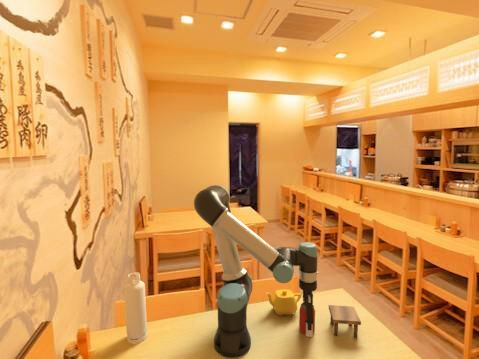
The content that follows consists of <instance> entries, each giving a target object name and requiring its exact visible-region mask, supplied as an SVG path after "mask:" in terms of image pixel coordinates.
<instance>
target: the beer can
mask: <svg viewBox="0 0 479 359" xmlns="http://www.w3.org/2000/svg"><path fill="white" fill-rule="evenodd" d="M298 315H299V318H298V319H299V321H298V324H299V325H298V330H299V332H300V333H301V334H302V335H304V336H306V322H305V321H306V305H305V304H304V303H303V302H302V303H300V307H299V313H298ZM313 322H314V324H313V335H314V334H315V331H316V330H315V329H316V310H315V306H314V304H313Z"/></svg>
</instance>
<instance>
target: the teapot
mask: <svg viewBox="0 0 479 359" xmlns="http://www.w3.org/2000/svg"><path fill="white" fill-rule="evenodd" d="M265 294H266V295H267V297H268V301H269V304H270V305H271V306H272V308H273V310H274V311H275V313H276V314H278V316H280V317H282V316H283V315H284V316H285V315H286V316H287V315H289V316H293V315H294V314H296V312H297V311H298V302H299V301H300V300H301V299H302V294H301V293H299V292H296V293H294V292H293V291H292V290H291V289H277V290H275V292H274V294H273V297H272V294H271V293H270V292H268V291H267V292H265ZM296 297H297V298H296Z"/></svg>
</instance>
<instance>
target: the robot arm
mask: <svg viewBox="0 0 479 359" xmlns="http://www.w3.org/2000/svg"><path fill="white" fill-rule="evenodd" d="M229 202H230V193H229V192H228V190H227V189H226V188H225V187H223V186H221V185H218V184H217V185H214V184H213V185H209V186H207V187H206V188H204V189H202V190H200V191H199V192H197V194H196V195H195V197H194V200H193V206H194V207H193V208H194V210H195V212H196V213H197V215H198V217H200V218H201V219H202V220H203V221H204V222H205V223H207V224H208V225H209V226H210V228H211V231H212V234H213V235H212V236H213V239H214V241H215V246H216V248H217V252H218V256H219V259H220V264H221V267H222V272H223V273H222V275H221V280H222V283H223V285H222V286H221V287H220V288H219V290H218V292H217V297H216V304H217V329H216V331H215V335H214V339H213V347H214V350H215V352H216V353H217V354H218V355H220V356H222V357H225V358H239V357H242V356H244V355H246V354H247V353H248V352H249V350H250V349H251V346H252V338H251V334H250V332H249V330H248V329H249V328H248V326H247V311H248V309H247V308H248V305H249V300H250V298H251V294H252V292H253V280H252V277H251V275H250V274H248V270H247V268H245V267H244V266H243V265H242V261H241V258H240V253H239V250H238V246H239V247H240V248H242V249H243V250H244V251H246V252H247V253H248V254H250V256H252V257H253V258H254V259H256V260H257V261H258V262H259V263H260V264H261V265H263V267H265V268H267V269H268V271H270V272H271V273H272V276H273V279H275V281H276V282H277V283H279V284H288V283H289V282H291V281H292V279H293V277H294V273H295V269H294V266H295V267H298V288H299V289H300V290H302V295H301V298H302V303H304V304H305V305H306V321H305V322H306V335H305V337H310V338H313V337H314V336H313V335H314V334H313V324H314V322H313V305H314V302H313V301H314V293H313V292H315V291H316V290H317V289H318V275H319V271H318V257H319V256H318V246H317V245H316V244H315V243H313V242H310V241H308V242H307V241H305V242H300V243H299V244H298V247H291V246H290V247H288V246H287V247H286V246H272V245H270V244H269V243H268V242H267V241H265V240H264V239H263V238H261V236H260V235H258V234H257V233H256V232H254V231H253V230H252V229H250V227H248V226H247V225H246V224H244V223H243V222H242V221H241V220H239V219H238V218H237V217H236V216H234V215H233V214H232V211H231V208H230V203H229ZM237 245H238V246H237Z"/></svg>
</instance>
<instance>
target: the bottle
mask: <svg viewBox="0 0 479 359" xmlns="http://www.w3.org/2000/svg"><path fill="white" fill-rule="evenodd" d="M131 275H135V276H133V277H132V276H131ZM127 281H128V282H127V283H126V284H125V285H124V290H123V291H124V308H125V309H124V310H125V322H126V323H125V324H126V325H125V326H126V340H128V341H127V343H129V342H130V343H129V344H131V343H133V344H132V345H135V344H134V343H137V344H140V343H142V342H144V341H145V340H146V339H147V338H146V337H148V324H147V321H148V319H147V305H146V304H147V303H146V302H147V301H146V284H145V282H144V281H142V280H141V273H140V272H138V271H135V272H131V273H129V274H127ZM143 340H144V341H143Z"/></svg>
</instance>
